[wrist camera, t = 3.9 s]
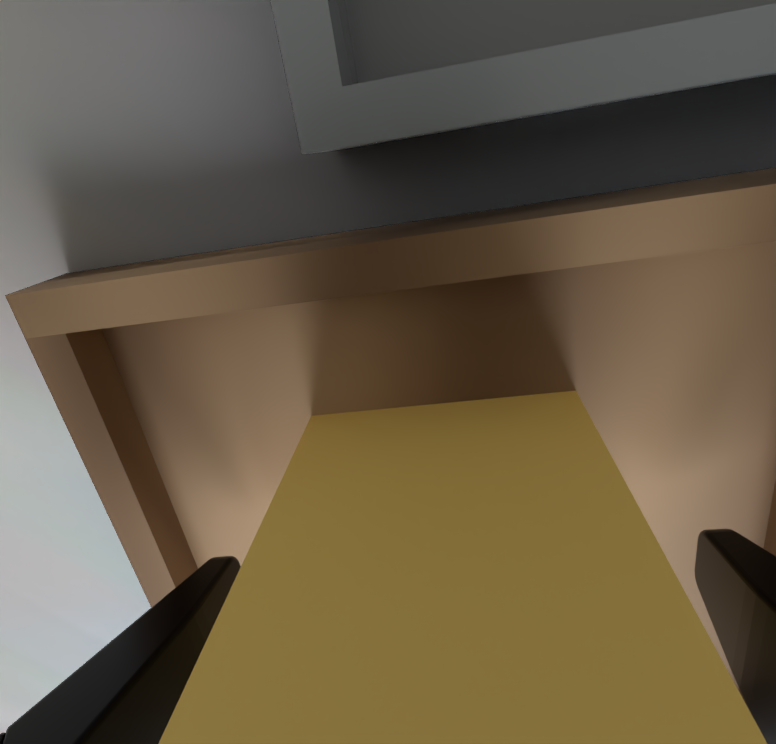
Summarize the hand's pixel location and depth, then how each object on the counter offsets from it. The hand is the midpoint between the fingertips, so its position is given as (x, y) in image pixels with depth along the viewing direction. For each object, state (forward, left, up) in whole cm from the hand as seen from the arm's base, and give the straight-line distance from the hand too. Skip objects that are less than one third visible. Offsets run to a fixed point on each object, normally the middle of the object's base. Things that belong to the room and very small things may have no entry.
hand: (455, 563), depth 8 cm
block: (0, 0, -1) cm, 1 cm away
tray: (0, +1, -2) cm, 2 cm away
